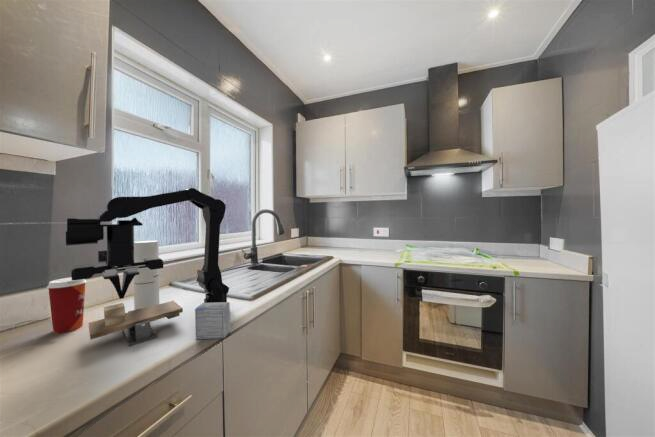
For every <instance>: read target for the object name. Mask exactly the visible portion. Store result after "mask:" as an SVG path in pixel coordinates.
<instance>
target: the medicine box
mask: <svg viewBox="0 0 655 437" xmlns="http://www.w3.org/2000/svg"><path fill="white" fill-rule="evenodd" d="M230 307H231V306H230V302H228V301H227V302H215V303H204V302H202V303H201V304H200V305H198V306H197V307H196V308H194V320H195V321H194V322H195V325H194V326H195V340H206V339H207V340H211V339H212V340H213V339H225V338H226V337H227V336H228V334H229V332H231V314H230V312H231V310H230Z"/></svg>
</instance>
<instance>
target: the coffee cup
mask: <svg viewBox="0 0 655 437" xmlns="http://www.w3.org/2000/svg"><path fill="white" fill-rule="evenodd" d="M86 283H87V280H86V279H81V280H72V277H71V276H70V277H64V278H58V279H54V280H50V281H49V282H48V285H47V286H46V289H48V296H49V306H50V315H51V322H52V330H53V331H52V332H53V333H54V334H63V333H68V332H72V331H75V330H78V329H80V328H82V327H83V324H84V315H85V314H84V312H85V297H86V294H85V293H86Z"/></svg>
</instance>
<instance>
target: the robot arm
mask: <svg viewBox="0 0 655 437" xmlns="http://www.w3.org/2000/svg"><path fill="white" fill-rule="evenodd" d="M182 202H183V203H184V202H190V203H191V204H192V205H194V206H195V207H197V208H199V209H200V210H202V211H201V212H202V217H203V220H204V223H205V235H204V236H205V238H204V239H205V240H204V256H203V259H204V260H203V265H202V268H201V269H197V270H196V272H197V274H196V275H197V276H196V277H197V278H196V282H197V283H198V286H199V287H201V289H203V290H204V292H205V298H204V299H203V303H215V302H228V294H229V290H230V287H229V286H228V285H226V284H225V283H224V282H223V277H222V272H221V269H220V265H219V255H220V254H219V253H220V237H221V236H220V235H221V234H220V232H221V230H220V229H221V224H222V222H223V219H224V217H225V213H226V208H227V206H226V203H225V202H224V201H223V200H221V199H219V198H218V199H217V198H214V197H212V196H210V195H208V194H206V193H203V192H201V191H199V190H198V189H197V188H194V187H190V188H186V189H183V190H178V191H171V192H166V193H165V192H163V193H160V194H153V195H148V196H147V195H146V196H117V197H116V196H115V197H113V198H112V199H110V200H109V201H108V202H107V203H106V205H105V211H104V212H102V213H101V215H100V214H99V215H98V218H83V219H82V218H74V217H73V218H71V217H70V218H67V219H66V230H65V245H66V247H68V246H69V247H71V246H82V245H85V246H86V245H97V244H99V241H103V240H104V234H105V232H104V227H106V250H98V251H97V263H98V264H104V263H105V265H102V266H101V265H100V266H95V265H94V264H93V263H91V264H84V265H83V264H82V265H74V266H73V267H72V268H71V270H70V271H71V276H70V277H72V280H81V279H85V280H86V279H90V278H92V277H93V276H94V275H98V274H102V279H103V280H109V281H110V282H111V284H112V285H113V287H114V289H115V292H116V294H117V296H118V298H119V299H120V300H122V299H124V298H125V296H126V295H127V294H126V293H127V291H128V289H129V287H130V285H131V283H132V281H134V276H135V275H138V274H139V272H138V270H139V268H146V267H148V268H149V269H151V270H153V269H159V270H161V269H163V268H164V260H163V259H162V258H160V257H159V258H158V257H156V258H146V259H144V261H143V262H135V263H134V242H135V226H136V227H137V226H139V227H141V226H144V225H143V222H141V221H139V219H137V217H132V218H131V219H126V220H125V218H128V217H131V216H134V215H137V214H140V213H142V212H145V211H147V210H150V209H153V208H157V207H158V208H159V207H162V206H163V207H165V206H168V205H173V204H178V203H182ZM116 219H118V220H117V221H116V223H115V224H114V223H113V224H112V223H111V224H110V222H112V221H113V220H116ZM119 219H120V220H119ZM121 219H122V220H121ZM123 219H124V220H123ZM108 222H109V224H106V223H108ZM101 223H103V224H101ZM121 271H123V272H122V285H121V281H120V280H121V278H120V275H119V274H118V272H121Z"/></svg>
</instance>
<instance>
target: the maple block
mask: <svg viewBox="0 0 655 437" xmlns="http://www.w3.org/2000/svg"><path fill="white" fill-rule="evenodd" d="M125 313H126V310H125V304H124V303H123V302H121V303H116V304H112V305H108V306H103V314H104V318H103V319H105V326H108V325H112V324H115V323H119V322H123V321H125Z"/></svg>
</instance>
